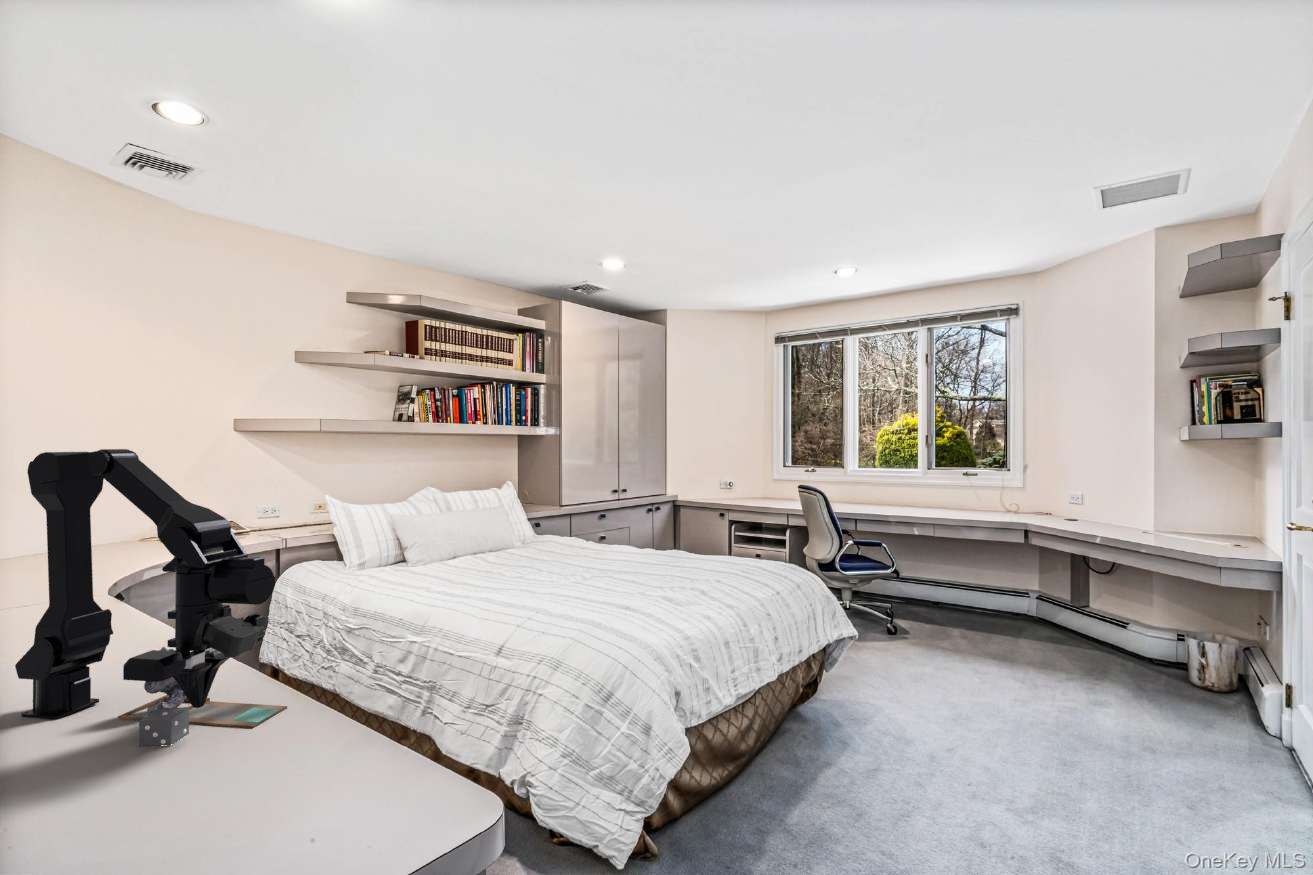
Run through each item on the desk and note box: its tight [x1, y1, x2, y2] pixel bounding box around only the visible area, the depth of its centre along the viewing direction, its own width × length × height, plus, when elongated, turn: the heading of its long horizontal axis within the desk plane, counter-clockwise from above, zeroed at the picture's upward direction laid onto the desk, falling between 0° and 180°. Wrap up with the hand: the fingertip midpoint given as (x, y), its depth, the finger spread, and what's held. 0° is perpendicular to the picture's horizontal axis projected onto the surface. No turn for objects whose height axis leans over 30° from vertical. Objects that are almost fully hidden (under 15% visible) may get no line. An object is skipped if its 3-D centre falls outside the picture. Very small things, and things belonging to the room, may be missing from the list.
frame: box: [117, 694, 211, 722], centre depth 98 cm, size 8×8×1 cm
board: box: [189, 700, 288, 729], centre depth 97 cm, size 15×7×1 cm, turn 82°
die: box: [138, 706, 190, 748], centre depth 88 cm, size 4×4×4 cm
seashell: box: [143, 646, 187, 714], centre depth 98 cm, size 5×5×10 cm
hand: (198, 706), depth 94 cm, fingers closed
